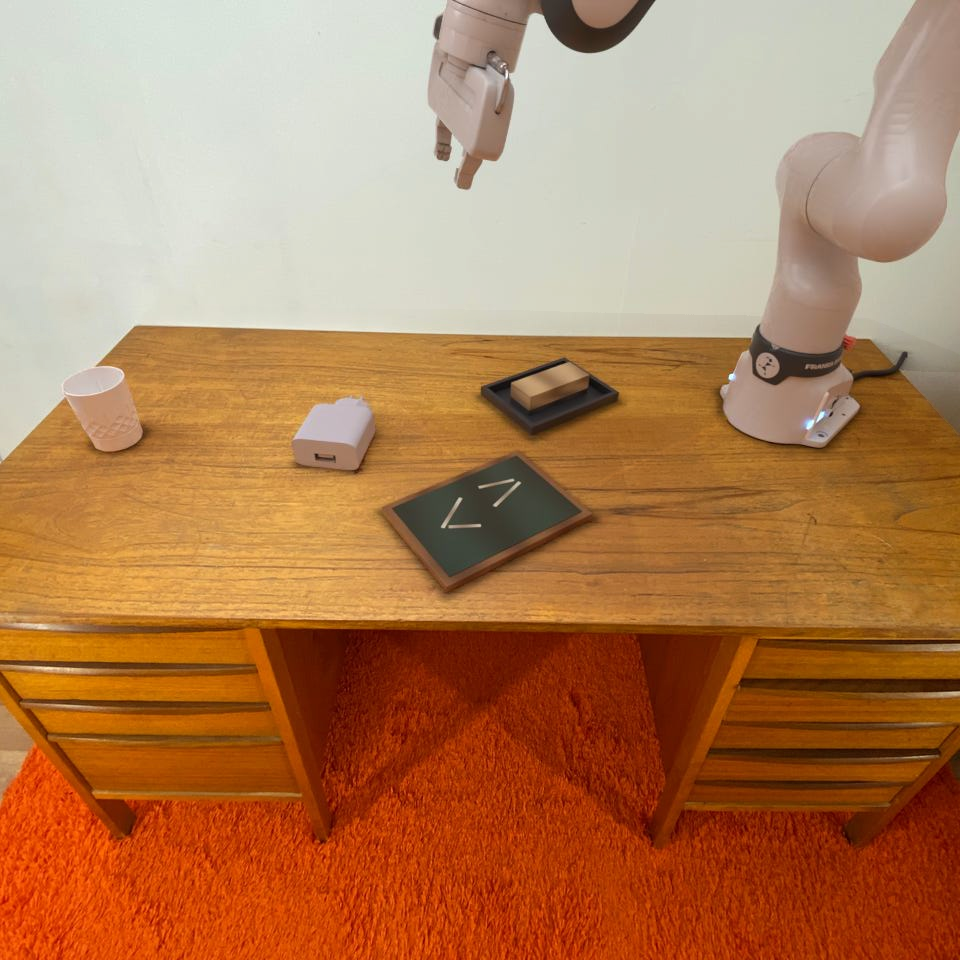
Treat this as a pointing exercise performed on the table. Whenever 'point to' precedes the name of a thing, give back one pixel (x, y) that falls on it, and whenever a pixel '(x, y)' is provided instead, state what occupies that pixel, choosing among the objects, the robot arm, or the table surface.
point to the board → (484, 518)
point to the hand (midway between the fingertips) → (450, 172)
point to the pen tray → (553, 416)
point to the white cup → (104, 407)
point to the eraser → (549, 388)
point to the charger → (335, 435)
